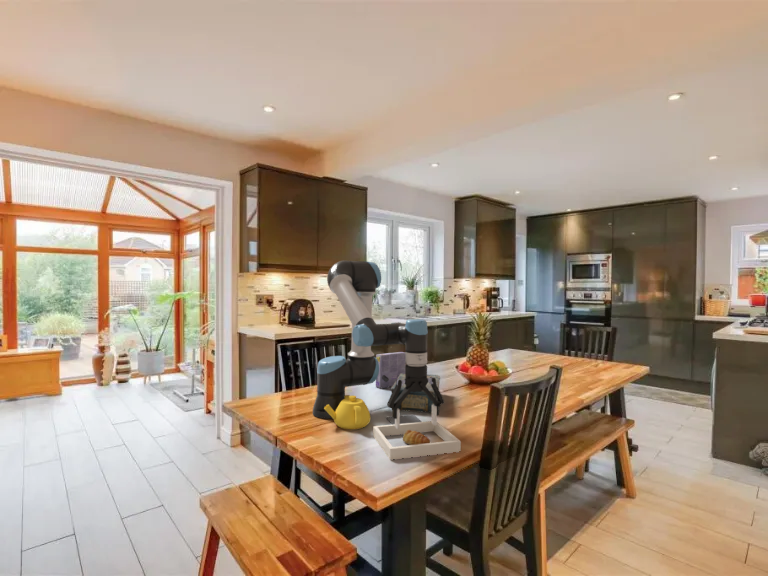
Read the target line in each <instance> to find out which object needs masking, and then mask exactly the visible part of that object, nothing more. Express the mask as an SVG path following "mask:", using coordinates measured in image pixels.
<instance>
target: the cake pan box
mask: <svg viewBox="0 0 768 576" xmlns="http://www.w3.org/2000/svg"><path fill="white" fill-rule="evenodd" d="M405 355H406V351H405V352H403V351H398V352H388V353H378V354H376V355H375V358H376V359H377V360H378V364H379V374H378V377H377V379H376V380H375V388H379V389H386V388H392V386H393V385H394V383H395V382H396V380H397V378H398V377H399V375H400V374H401V373H402V374H405V366H406V365H407V364H406V363H405Z"/></svg>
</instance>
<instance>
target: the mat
mask: <svg viewBox="0 0 768 576" xmlns="http://www.w3.org/2000/svg"><path fill="white" fill-rule="evenodd" d="M386 420H387V421H388V422H389V423H390V425H393V424H395V419H394V418H393V417H392V416H386ZM416 422H423V421H422V420H420V418H418V416H416V415H415V414H408V415H407V414H406V415H400V424H405V423H416Z"/></svg>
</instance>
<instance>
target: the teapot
mask: <svg viewBox="0 0 768 576" xmlns="http://www.w3.org/2000/svg"><path fill="white" fill-rule="evenodd" d="M324 409H325V410H326V411H327V412H328V414H329V415H330V416H331V417H332V418H333V421H334V424H336V426H337V427H338V428H341V429H343V430H359V429H363V427H364V428H365V427H367V425H368V424H369V423H370V422H371V414H370V410H369V408H368V406H367V404H366V402H365V401H364V400H363V399H362V398H360V397H359V398H358V397H357V396H356V395H350V394H345V399H343V400H342V401H341V402H340V404H339V405H338V407H337V409H336V411H335V412H334V410H333V409H332V408H331V407H330V405H329V404H328V405H326V406H325V407H324Z"/></svg>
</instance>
